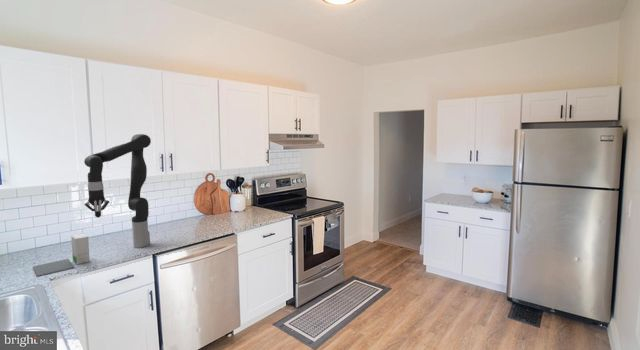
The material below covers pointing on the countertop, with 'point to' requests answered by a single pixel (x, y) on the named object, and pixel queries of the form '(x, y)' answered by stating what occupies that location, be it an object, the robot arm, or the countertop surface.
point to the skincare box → (80, 248)
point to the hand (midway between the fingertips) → (98, 217)
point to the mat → (53, 267)
